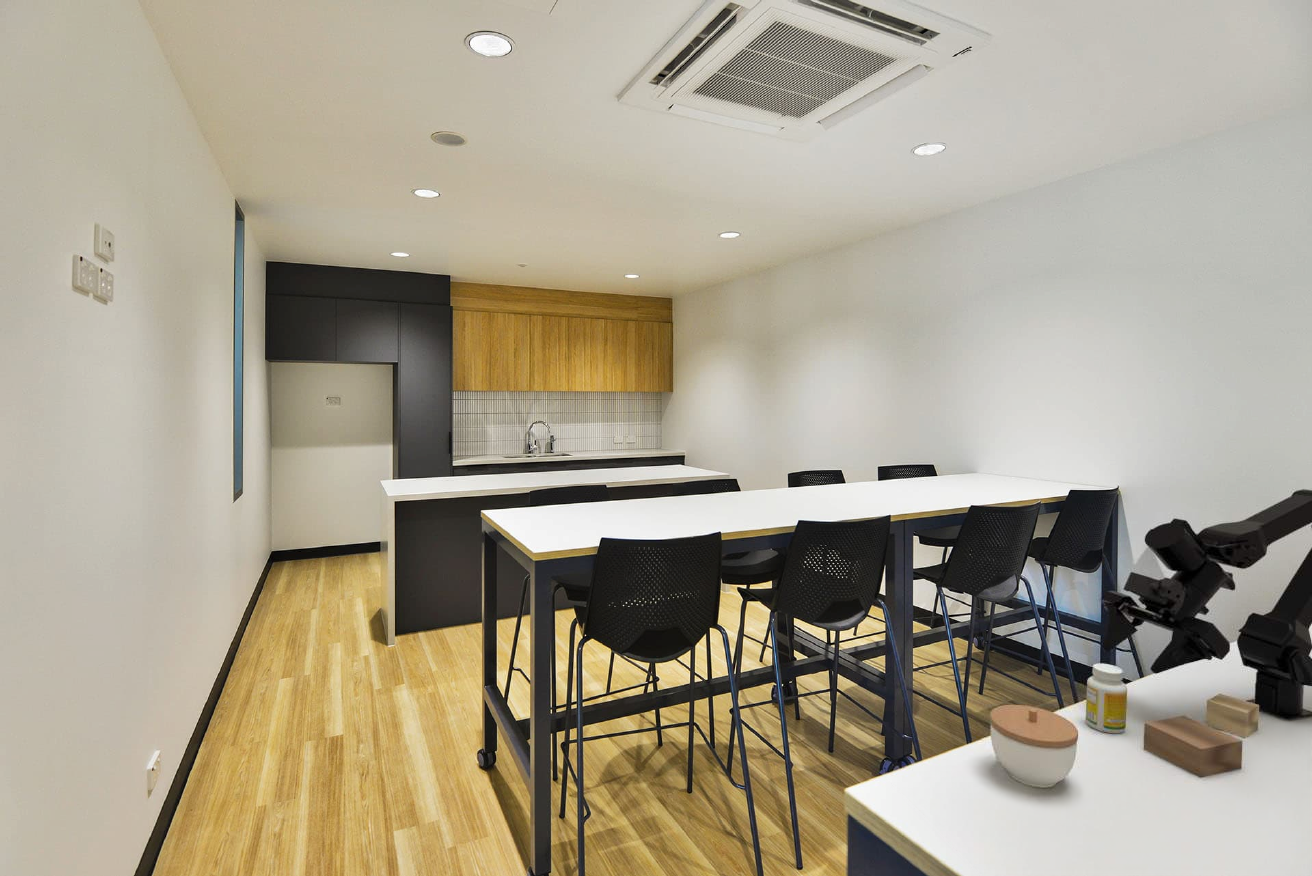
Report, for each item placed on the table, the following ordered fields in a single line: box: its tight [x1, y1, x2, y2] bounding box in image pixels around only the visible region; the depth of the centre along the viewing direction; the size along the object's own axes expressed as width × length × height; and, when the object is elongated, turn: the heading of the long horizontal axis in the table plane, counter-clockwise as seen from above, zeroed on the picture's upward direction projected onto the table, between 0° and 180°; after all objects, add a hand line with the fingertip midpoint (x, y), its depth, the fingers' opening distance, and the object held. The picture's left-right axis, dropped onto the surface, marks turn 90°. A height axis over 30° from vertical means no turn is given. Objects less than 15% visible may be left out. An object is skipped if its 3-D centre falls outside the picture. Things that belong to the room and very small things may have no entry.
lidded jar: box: [989, 704, 1079, 789], centre depth 92 cm, size 11×11×9 cm
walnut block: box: [1143, 715, 1243, 778], centre depth 97 cm, size 8×8×4 cm
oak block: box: [1205, 693, 1260, 739], centre depth 106 cm, size 5×5×4 cm
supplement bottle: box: [1085, 663, 1128, 734], centre depth 106 cm, size 5×5×10 cm
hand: (1127, 660), depth 107 cm, fingers open, 9 cm apart
